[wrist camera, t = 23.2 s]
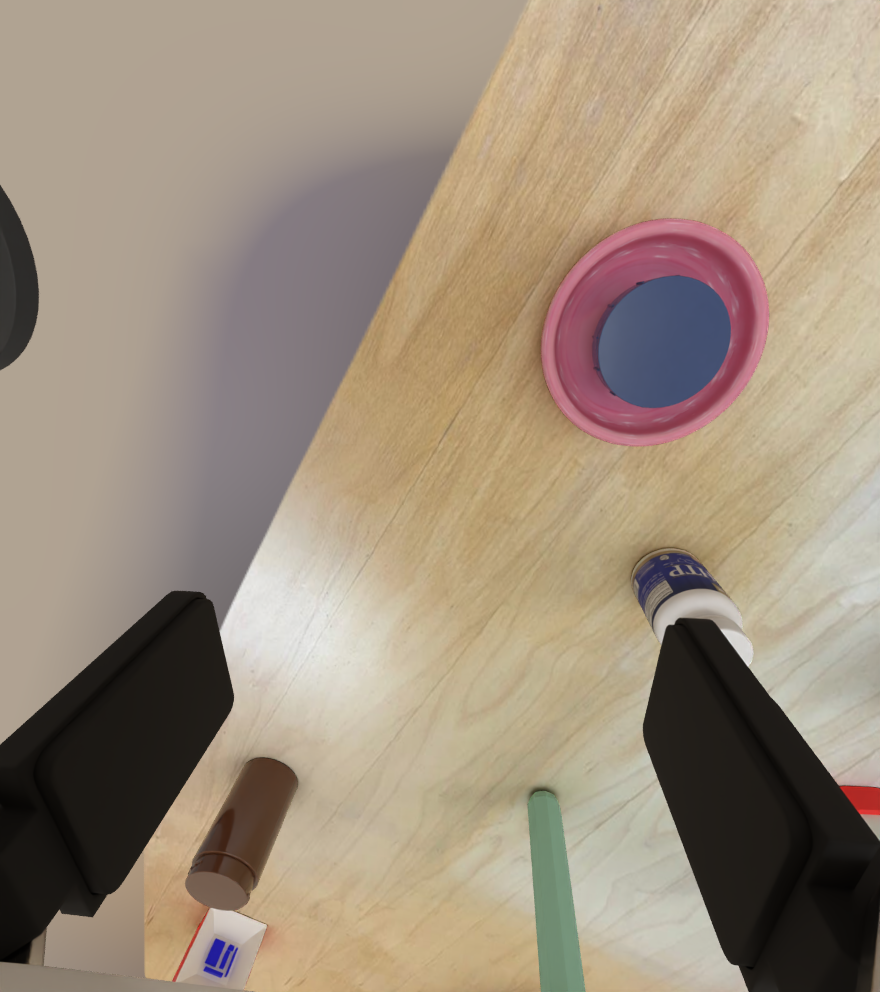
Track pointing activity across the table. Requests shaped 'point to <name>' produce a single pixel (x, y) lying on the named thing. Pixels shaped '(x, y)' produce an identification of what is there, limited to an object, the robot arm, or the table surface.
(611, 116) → the table surface
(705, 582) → the pill bottle
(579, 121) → the table surface
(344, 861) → the table surface
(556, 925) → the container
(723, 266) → the saucer
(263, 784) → the jar
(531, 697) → the table surface
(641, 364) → the lid
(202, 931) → the red open cube
